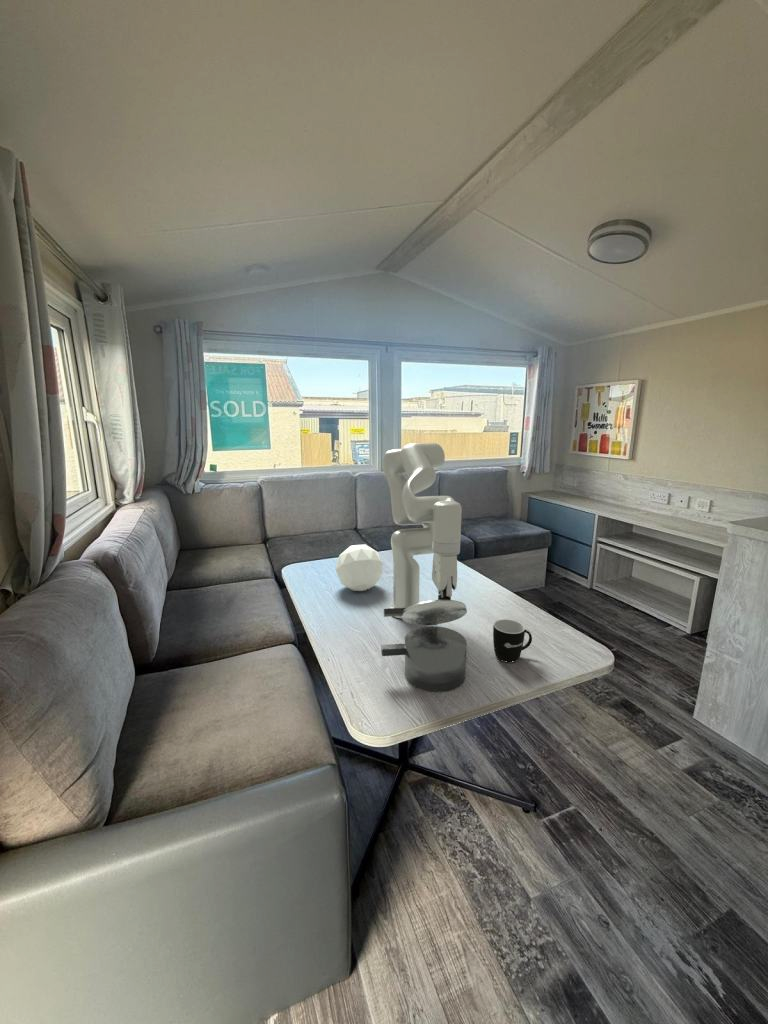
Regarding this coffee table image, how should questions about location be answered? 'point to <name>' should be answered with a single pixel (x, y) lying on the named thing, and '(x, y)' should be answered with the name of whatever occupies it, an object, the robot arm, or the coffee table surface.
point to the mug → (509, 639)
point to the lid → (429, 612)
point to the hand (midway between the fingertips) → (444, 608)
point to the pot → (432, 658)
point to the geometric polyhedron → (359, 567)
